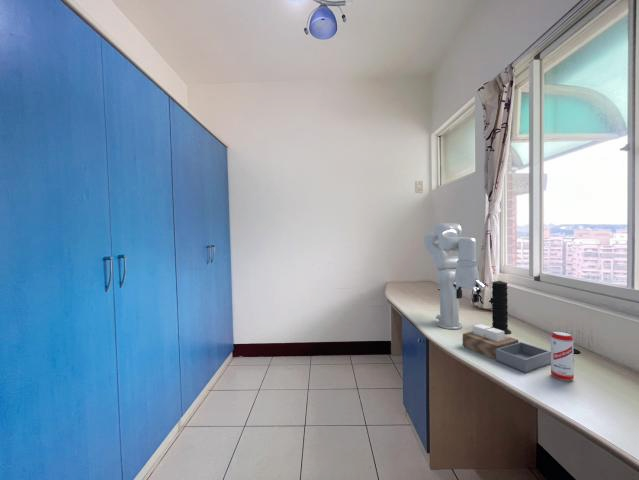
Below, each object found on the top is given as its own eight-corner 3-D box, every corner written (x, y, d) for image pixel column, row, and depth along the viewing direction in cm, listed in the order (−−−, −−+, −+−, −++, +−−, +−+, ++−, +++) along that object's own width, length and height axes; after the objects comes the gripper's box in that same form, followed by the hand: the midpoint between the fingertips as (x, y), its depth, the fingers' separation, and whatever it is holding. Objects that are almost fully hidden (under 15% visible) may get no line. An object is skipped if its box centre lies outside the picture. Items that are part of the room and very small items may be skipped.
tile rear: (473, 333, 131) (473, 325, 131) (480, 331, 133) (480, 324, 133) (483, 336, 126) (483, 328, 126) (491, 334, 128) (491, 327, 128)
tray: (496, 361, 116) (495, 349, 115) (520, 353, 122) (520, 341, 122) (525, 373, 105) (525, 360, 105) (550, 364, 112) (550, 351, 112)
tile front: (485, 337, 125) (485, 329, 125) (493, 335, 127) (493, 327, 127) (496, 341, 121) (496, 333, 121) (504, 339, 123) (504, 331, 123)
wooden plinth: (462, 346, 131) (462, 333, 131) (483, 341, 137) (483, 328, 136) (497, 360, 116) (496, 345, 116) (518, 353, 122) (518, 339, 122)
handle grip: (493, 333, 146) (515, 334, 144) (492, 282, 145) (514, 282, 143) (486, 327, 155) (506, 328, 153) (485, 279, 155) (506, 279, 153)
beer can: (575, 383, 98) (575, 337, 97) (552, 379, 101) (552, 334, 100) (571, 375, 103) (571, 331, 102) (549, 371, 106) (549, 329, 106)
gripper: (446, 262, 142) (446, 297, 142) (478, 266, 126) (479, 305, 126) (456, 261, 145) (457, 295, 145) (489, 264, 129) (490, 303, 130)
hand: (467, 300), depth 136 cm, fingers open, 8 cm apart
